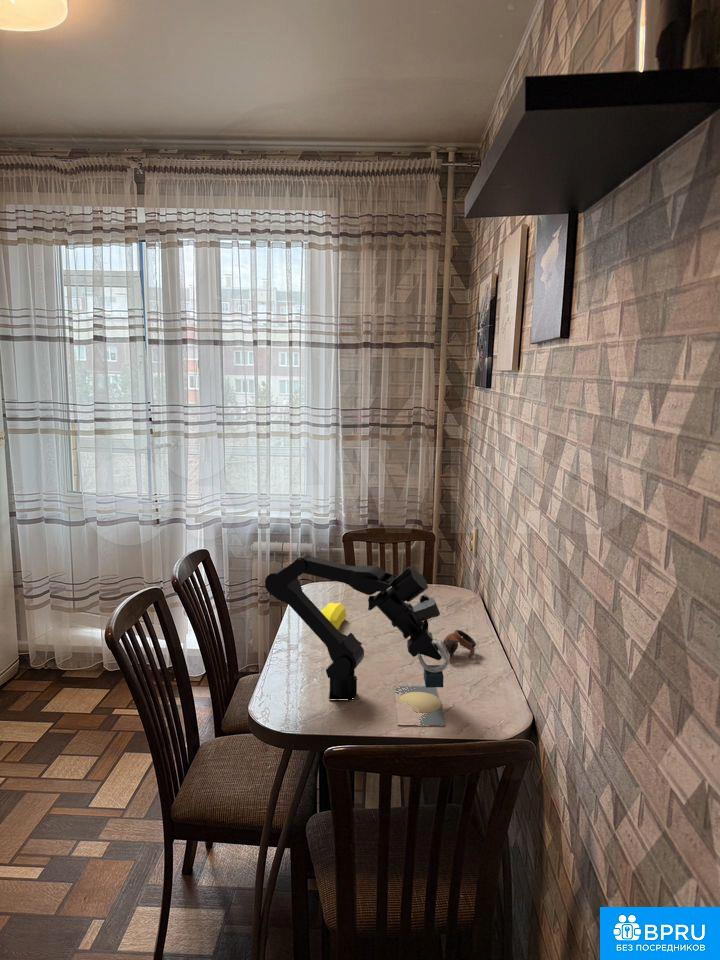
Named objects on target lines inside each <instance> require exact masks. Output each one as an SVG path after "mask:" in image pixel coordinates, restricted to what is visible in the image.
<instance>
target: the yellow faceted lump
mask: <svg viewBox="0 0 720 960" xmlns="http://www.w3.org/2000/svg"><path fill="white" fill-rule="evenodd" d="M320 611H321V612H322V613H323V615H324V616H325V617H326V618H327V619H328V620H329V621H330V622H331V623H332V624H333V625H334V627H335V628H336V629H337V630H338V631H339V628H340V626H341V625H342V623H343V622H344V620H345V619H346V618H347V612H346V607H345V606H344V605H343V604H342V603H340V602H337V603H335V602H329V603H328V604H326V606H325V607H324V608H323V609H321V610H320Z"/></svg>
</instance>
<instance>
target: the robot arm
mask: <svg viewBox="0 0 720 960" xmlns="http://www.w3.org/2000/svg"><path fill="white" fill-rule="evenodd" d="M303 574H305V575H309V576H314V577H319V578H322V579H326V580H331V581H333V582H334V581H335V582H337V583H338V582H339V583H341V584H346V585H348V586H349V587H351V588H352V589H353V590H354V591H357V592H359V593H362V594H364V595H367V596H368V599H367V602H368V607H367V610H368V611H372V610H373V609H374V608H376V607H377V609H379V610H380V611H381V613H382V614H384V615H385V617H386V618H387V619H388V620H389V621H390V623H391V626H392V627H394V628H397V630H399V631H400V633H401V634H402V637H403V638H404V639H405V640H407V639H408V638H409V639H408V640H407V641H406V647H407V652H408V653H409V654H410V655H411V656H412V657H413V658H415V657H417V656H418V654H421V656H422V655H423V656H425V657H428V658H431V659H434V660H436V661H441V660H442V659H443V657H442V655H441V654H440V652H439V650H438V648H437V646H436V644H433V643H432V641H433V639H434V638H433V634H432V632H430V631H429V621H428V620H430V619H432V618H438V617H439V616H440V615H441V612H440V609H439V607H438V605H437V602H436V600H435V598H434V597H430V596H428V595H427V594H425V593H424V592H425V591H427V590H428V588H429V585H428V582H427V580H426V578H425V577H424V576H423V575H422V574H421V573H419V572H418V571H417V570H415V569H413V567H412V566H408V567H407V568H405V569H404V570H403V571H402V573H400V574H398V575H396V574H392V573H389V572H386V571H384V569H383V568H382V567H380V566H377V565H355V566H354V565H349V564H344V563H341V562H336V561H331V560H328V559H323V558H317V557H314V556H311V555H309V554H302V555H301V556H299V557H297V558H296V559H294V561H293V562H291V564H289V565H287V566H286V567H279V568H278V569H277V570H274V571H272V572H271V573H270V574H268V575H267V576H266V577H265V581H264V588H265V590H266V591H267V592H268V594H270V595H271V596H272V597H273V598H275V599H276V600H278V601H280V602H282V603H284V604H287V605H289V607H290V608H291V609H292V610H293V611H294V612H295V613H296V614H297V615H298V617H300V619H301V620H303V622H304V623H305V624H306V625H307V626H308V627H309V629H310V630H311V631H312V632H313V633H314V634H315V635H316V636H317V638H318V639H320V641H321V642H322V643H323V644H324V645H325V647H326V649H327V652H328V655H329V658H330V659H331V661H332V662H331V664H330V665H329V666H328V667H327V668H326V669H325V673H326V677H327V678H328V679H329V694H328V695H329V696H328V700H329V699H348V700H354V699H355V700H356V697H355V696H357V694H358V691H357V688H358V686H357V685H358V683H357V682H358V677H357V675H355V670H356V669H357V667H358V666H359V665H360V664H361V662H362V661H363V660H364V657H365V649H364V648H363V646H362V645H363V643H362V642H361V641H359V640H358V639H357V637H355V635H354V634H353V633H352V632H350V633H348V635H346V634H344V633H342V632H340V631H339V629H338V630H337V629H336V628H335V627H334V625H333V624H332V623H331V622H330V621H329V620H328V619H327V618H326V617H325V616H324V615H323V613H322V612H321V611H322V610H320V608H318V607H317V605H315V603H314V602H313V601H312V600H311V599H310V598H309V597H308V596H307V595H306V593H305V592H304V591H303V588H302V585H301V581H300V580H299V577H300V576H301V575H303ZM376 593H377V594H376ZM422 593H424V594H422ZM375 594H376V595H375ZM421 594H422V595H421ZM419 595H420V597H419V602H417V604H415V605H412V604H411V603H410V602H411V601H413V600H415V599H416V598H417V597H418V596H419ZM406 602H407V603H406ZM408 602H409V603H408ZM352 698H354V699H352ZM355 700H354V701H355Z"/></svg>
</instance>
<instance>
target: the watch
mask: <svg viewBox="0 0 720 960" xmlns="http://www.w3.org/2000/svg"><path fill="white" fill-rule="evenodd" d="M432 643H433V644H436V646H437V648H438V652H439V654H440V655H441V657H442V659H444V660H445V661H444V662H443V663H442V664H427V663H426V661H425V660H424V659H423V657H422V654H418V655H417V656H418V661H419V663H420V665H421V666H422V668H423V680H424V681H423V682H424V686H426V687H436V688H444V673H443V671H444V670H445V669H446V668H447V667H448V666H449V664H450V659H451V657H450V655H449V652H448V650H447V648H446V647H445V645H444V644H443V641H442V640H441V639H440V640H439V639H437V638H433V641H432Z"/></svg>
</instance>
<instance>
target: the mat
mask: <svg viewBox="0 0 720 960" xmlns="http://www.w3.org/2000/svg"><path fill="white" fill-rule="evenodd" d="M396 686H397V685H393V688H394V687H396ZM399 686H400V688H397V687H396V689H395V690H396V691H399V690H398V689H401V690H402V691H399V692H401V693H403V694H401V696H400V697H399V698H398V699H399V700H401V701H399V700H398V701H399V702H400V703H401V702H403V701H404V703H405V702H406V703H408V704H410V705H412V706H413V705H414V707H416V708H417V709H419V710H417V709H416V708H414V707H412V706H411V707H412V708H413V709H415V710H417V711H419V713H422V714H423V713H425V714H424V715H422V716H423V717H425V718H423V717H422V716H421V718H422V720H421V719H419V720H421V721H420V723H421V724H420V725H423V724H424V725H429V726H428V727H446V723H445V721H444V720H445V719H444V716H443V712H442V705H443V704H442V701H441V699H440V698H439V696H438V692H437V687H426V686H425V685H399ZM401 686H402V687H401ZM405 686H406V687H408V689H407V688H406V687H405ZM409 686H411V687H409ZM420 686H421V687H420ZM402 688H405V689H407V690H405V689H404V690H403V689H402ZM414 688H415V689H414ZM411 689H412V690H411ZM408 690H409V691H408ZM404 691H405V692H407V693H405V692H404ZM399 692H395V693H397V694H399ZM407 701H408V702H407ZM410 702H411V703H410ZM404 703H402V704H404ZM413 709H412V710H413ZM415 710H413V711H414V712H416V713H418V712H417V711H415ZM426 713H427V714H426ZM425 715H426V716H425ZM422 721H423V722H422ZM441 725H442V726H441Z"/></svg>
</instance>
